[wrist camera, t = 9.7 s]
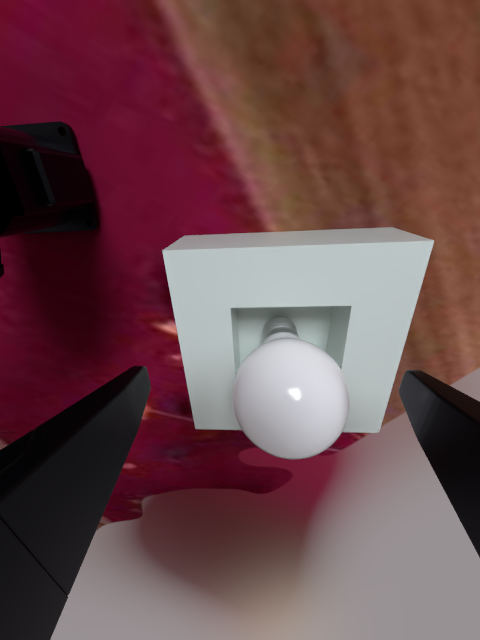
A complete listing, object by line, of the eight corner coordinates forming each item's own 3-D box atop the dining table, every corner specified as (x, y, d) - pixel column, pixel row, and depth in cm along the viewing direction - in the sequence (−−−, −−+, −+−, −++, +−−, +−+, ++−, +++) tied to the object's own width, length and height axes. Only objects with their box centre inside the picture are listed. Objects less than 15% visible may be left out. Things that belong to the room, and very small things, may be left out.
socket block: (206, 388, 26) (195, 429, 22) (184, 235, 20) (162, 250, 15) (357, 389, 25) (379, 432, 21) (391, 227, 18) (434, 240, 14)
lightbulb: (319, 288, 20) (377, 388, 10) (317, 356, 23) (362, 487, 13) (236, 295, 20) (215, 394, 11) (245, 360, 23) (234, 487, 13)
